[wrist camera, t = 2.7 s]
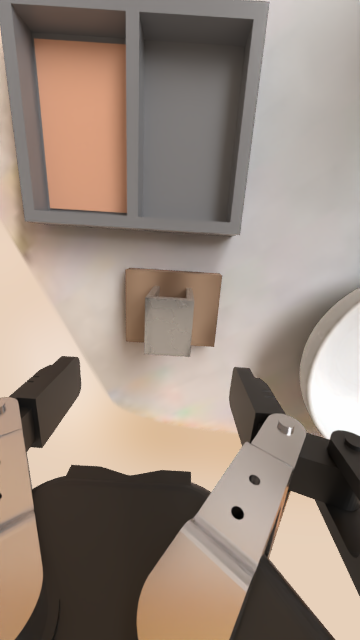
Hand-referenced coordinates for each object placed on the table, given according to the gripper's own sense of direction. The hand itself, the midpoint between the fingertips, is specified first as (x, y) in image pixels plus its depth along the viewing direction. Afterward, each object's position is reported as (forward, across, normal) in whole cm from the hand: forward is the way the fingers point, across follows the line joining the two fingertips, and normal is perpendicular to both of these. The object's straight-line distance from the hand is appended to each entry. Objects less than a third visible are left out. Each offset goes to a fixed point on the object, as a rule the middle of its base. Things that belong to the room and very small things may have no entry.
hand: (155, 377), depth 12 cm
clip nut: (+14, 0, 0) cm, 14 cm away
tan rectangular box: (+16, 0, 0) cm, 16 cm away
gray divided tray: (+16, +4, -16) cm, 23 cm away
